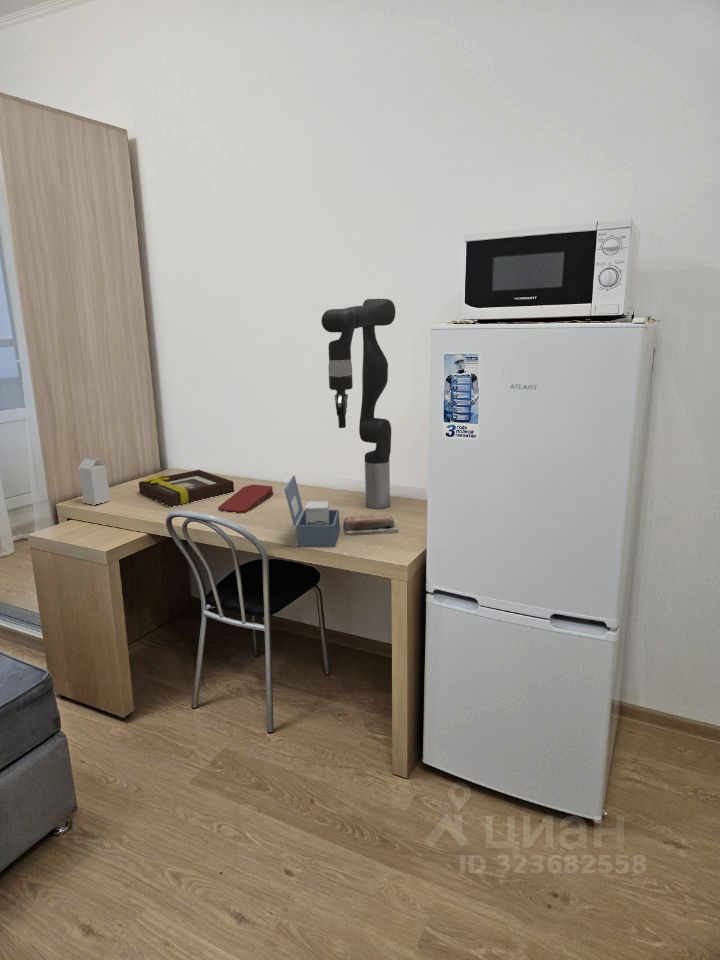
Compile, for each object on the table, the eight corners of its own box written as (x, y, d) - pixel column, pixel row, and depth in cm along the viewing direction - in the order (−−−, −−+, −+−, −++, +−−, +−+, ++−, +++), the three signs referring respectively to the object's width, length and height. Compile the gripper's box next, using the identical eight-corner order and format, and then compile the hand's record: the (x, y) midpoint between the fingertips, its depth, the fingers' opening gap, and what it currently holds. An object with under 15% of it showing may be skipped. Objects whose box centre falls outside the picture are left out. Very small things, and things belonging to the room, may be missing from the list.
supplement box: (306, 545, 203) (304, 507, 200) (307, 537, 210) (306, 500, 207) (329, 544, 203) (328, 507, 200) (330, 536, 210) (328, 500, 207)
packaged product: (344, 523, 209) (342, 514, 219) (345, 537, 211) (343, 527, 220) (399, 520, 211) (394, 511, 221) (399, 534, 212) (394, 524, 222)
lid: (303, 509, 216) (301, 509, 216) (294, 475, 213) (293, 475, 213) (295, 525, 200) (293, 525, 200) (286, 488, 197) (284, 489, 197)
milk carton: (95, 506, 249) (89, 459, 244) (83, 504, 253) (76, 457, 248) (110, 501, 255) (104, 455, 250) (98, 499, 259) (92, 453, 254)
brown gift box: (169, 492, 243) (136, 478, 264) (171, 509, 245) (138, 493, 266) (234, 478, 261) (198, 466, 283) (235, 494, 263) (199, 480, 284)
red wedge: (245, 523, 237) (277, 495, 258) (243, 511, 235) (276, 484, 256) (218, 520, 242) (251, 492, 263) (215, 508, 240) (250, 481, 261)
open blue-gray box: (304, 529, 218) (303, 509, 216) (339, 529, 217) (338, 509, 215) (297, 546, 202) (296, 525, 200) (334, 546, 201) (334, 525, 200)
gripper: (331, 372, 210) (332, 424, 214) (326, 376, 197) (328, 431, 202) (353, 371, 209) (355, 423, 214) (350, 376, 197) (352, 431, 201)
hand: (342, 427), depth 208 cm, fingers closed
